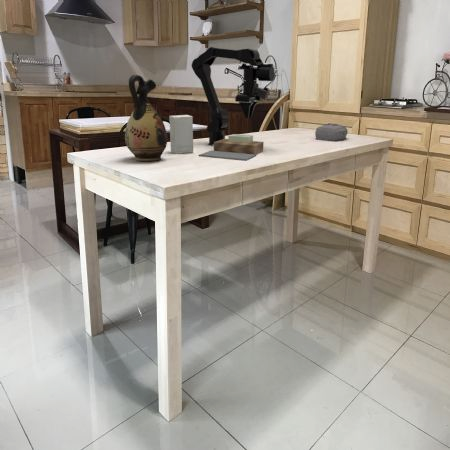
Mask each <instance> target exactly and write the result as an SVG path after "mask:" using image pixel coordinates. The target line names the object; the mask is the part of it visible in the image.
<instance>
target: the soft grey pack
mask: <svg viewBox="0 0 450 450" xmlns="http://www.w3.org/2000/svg"><path fill="white" fill-rule="evenodd" d="M314 135H315V138H316V140H319V141H326V142H338V141H339V142H340V141H342V140H344V139H346V138H347V135H348V129H347V127H346V126H344V125H342V124H338V123H331V122H330V123H326V124H323V125H321V126H318V127H317V128H316V130H315V133H314Z"/></svg>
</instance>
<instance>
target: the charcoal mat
mask: <svg viewBox="0 0 450 450" xmlns="http://www.w3.org/2000/svg"><path fill="white" fill-rule="evenodd" d="M198 157H205V158H213V159H214V158H215V159H226V160H237V161H246V162H247V161H249V160H250V159H253V158H254V157H255V158H256V157H257V154H256V155H255V154H244V153H233V152H223V151H214V150H207V151H206V152H203V153H200V154H198Z"/></svg>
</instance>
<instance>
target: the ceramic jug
mask: <svg viewBox="0 0 450 450" xmlns="http://www.w3.org/2000/svg"><path fill="white" fill-rule="evenodd" d="M136 82H138V86H137V88H136V85H135V84H136ZM128 87H129V91H130V92H129V93H130V95H131V98H132V102H133V106H134V109H133V111H132V112H131V115H129V119H128V120H127V124H126V127H125V133H124V141H125V145H126V148H127V149H128V150H129V151H130V153H132V155H133V156H134V157H135V160H136V161H139V162H140V161H142V162H143V161H145V162H147V161H150V162H151V161H154V162H155V161H160V160H162V159H161V158H162V155H163V153H164V151H165V150H166V147H167V145H168V133H167V129H166V127H165V124H164V121H163V120H162V118H161V117H160V115H159V113H158V112H157V110H156V109H155V108H154V106H152V104H151V101H149V97H148V94H149V93H150V92H152V91H154V90H155V89H156V88H157V85H156V82H155V81H154V80H153V79H151V78H150V79H148V80H146V81H145V80H144V78H143V77H142V76H141V75H138V74H133V75H130V77H129V78H128Z"/></svg>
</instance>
